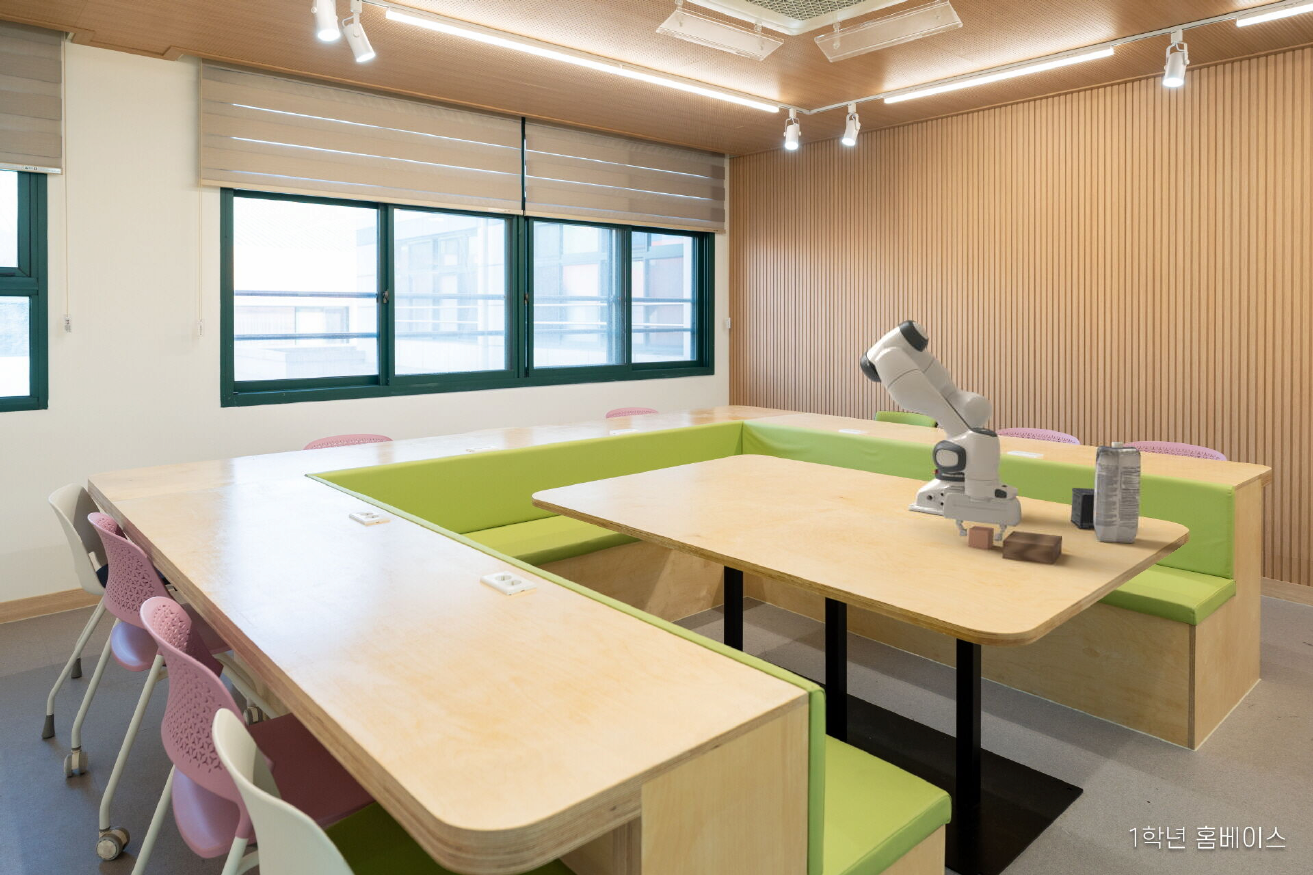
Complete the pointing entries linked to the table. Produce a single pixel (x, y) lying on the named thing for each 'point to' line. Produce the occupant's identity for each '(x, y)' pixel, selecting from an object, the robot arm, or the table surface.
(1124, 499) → the juice carton
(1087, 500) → the small box
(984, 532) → the terracotta cube
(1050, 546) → the walnut block
